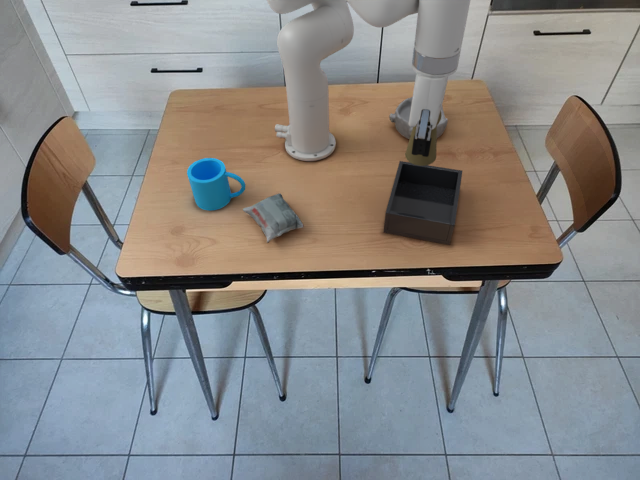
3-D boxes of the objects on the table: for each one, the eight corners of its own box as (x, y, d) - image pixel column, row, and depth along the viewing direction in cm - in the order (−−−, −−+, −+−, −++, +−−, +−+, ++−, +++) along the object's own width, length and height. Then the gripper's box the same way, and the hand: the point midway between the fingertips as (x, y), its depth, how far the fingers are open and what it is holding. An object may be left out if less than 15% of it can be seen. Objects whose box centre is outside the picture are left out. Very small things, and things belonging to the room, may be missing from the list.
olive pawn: (435, 167, 93) (444, 118, 85) (403, 163, 94) (409, 115, 86) (436, 147, 97) (445, 99, 89) (406, 144, 98) (412, 96, 90)
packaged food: (268, 250, 100) (266, 233, 96) (243, 215, 106) (240, 198, 103) (305, 233, 102) (304, 217, 99) (278, 200, 109) (277, 184, 106)
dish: (430, 106, 132) (433, 90, 128) (457, 135, 123) (461, 119, 119) (381, 119, 128) (383, 102, 125) (406, 149, 120) (408, 132, 116)
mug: (191, 210, 108) (182, 182, 102) (199, 185, 113) (191, 157, 107) (245, 211, 107) (239, 183, 101) (250, 186, 113) (245, 158, 106)
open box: (383, 232, 102) (385, 212, 97) (397, 181, 112) (399, 160, 108) (449, 245, 99) (454, 225, 95) (457, 191, 110) (462, 170, 105)
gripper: (420, 32, 87) (409, 119, 100) (404, 81, 76) (394, 171, 90) (463, 36, 85) (446, 125, 99) (453, 87, 75) (436, 178, 88)
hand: (422, 146), depth 94 cm, fingers closed on olive pawn, 4 cm apart
